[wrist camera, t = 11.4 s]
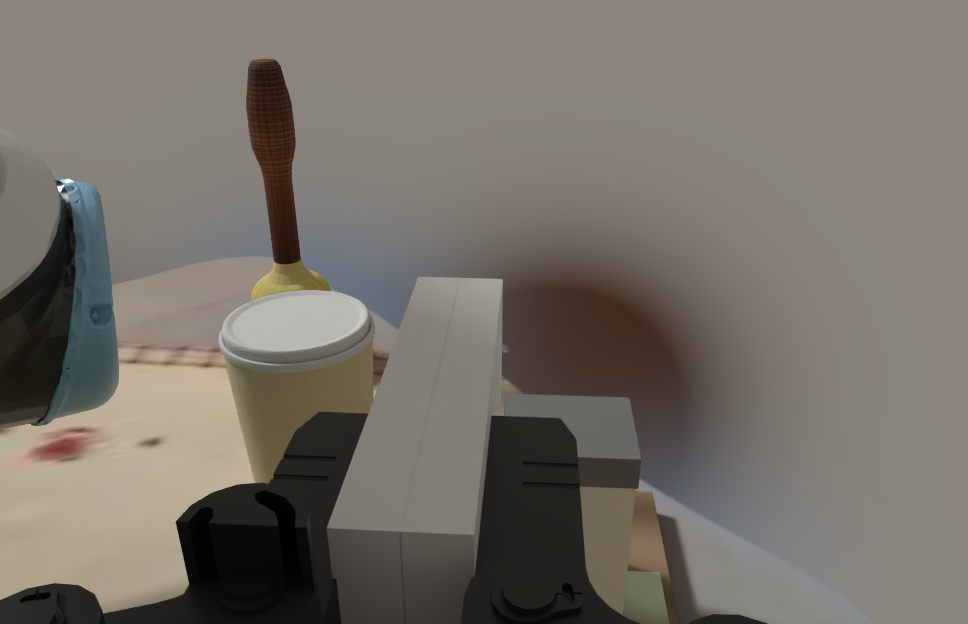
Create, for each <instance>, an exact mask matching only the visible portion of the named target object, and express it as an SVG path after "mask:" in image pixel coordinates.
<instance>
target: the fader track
mask: <svg viewBox="0 0 968 624" xmlns="http://www.w3.org/2000/svg"><path fill="white" fill-rule="evenodd" d="M623 616H624V617H626V618H628V619H631V620H633V621H635V622H638V623H640V624H679V621H678V616H677V611H676V606H675V601H674V596H673V591H672V586H671V581H670V576H669V571H668V566H667V561H666V556H665V552H664V547H663V542H662V537H661V532H660V527H659V522H658V517H657V512H656V507H655V502H654V497H653V492H637V491H635V499H634V509H633V519H632V529H631V539H630V549H629V559H628V569H627V579H626V589H625V599H624V609H623Z"/></svg>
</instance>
